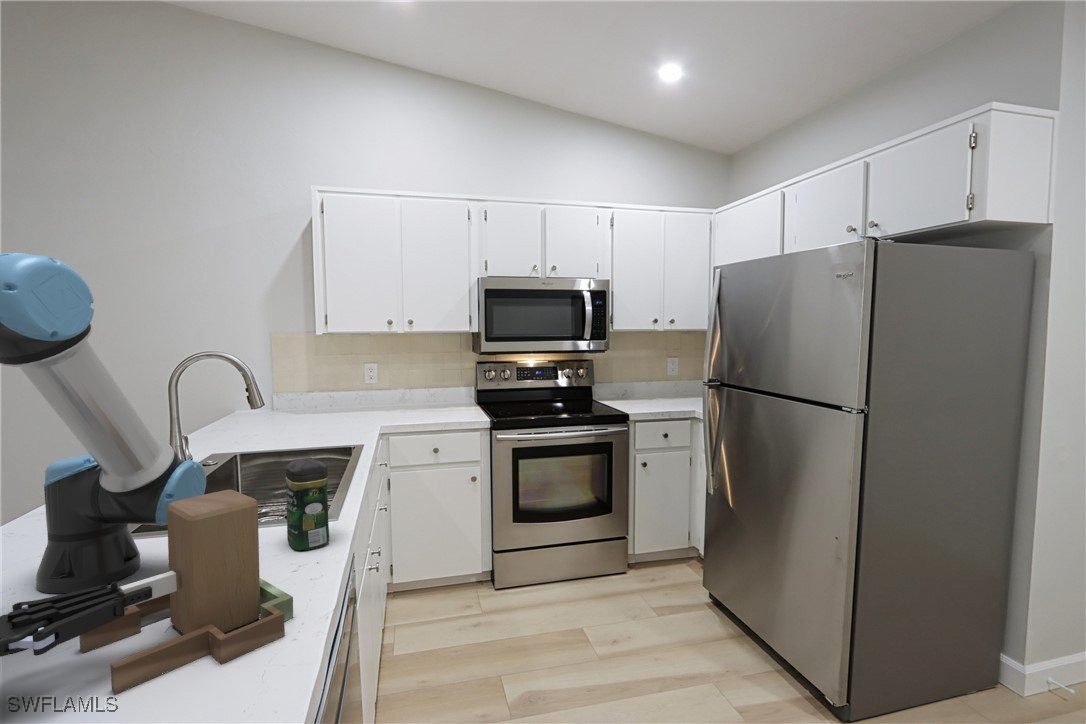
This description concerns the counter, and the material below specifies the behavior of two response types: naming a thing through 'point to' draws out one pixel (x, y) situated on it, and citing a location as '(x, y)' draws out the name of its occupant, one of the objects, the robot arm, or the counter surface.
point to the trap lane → (187, 637)
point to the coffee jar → (307, 504)
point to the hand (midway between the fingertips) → (174, 580)
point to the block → (214, 561)
